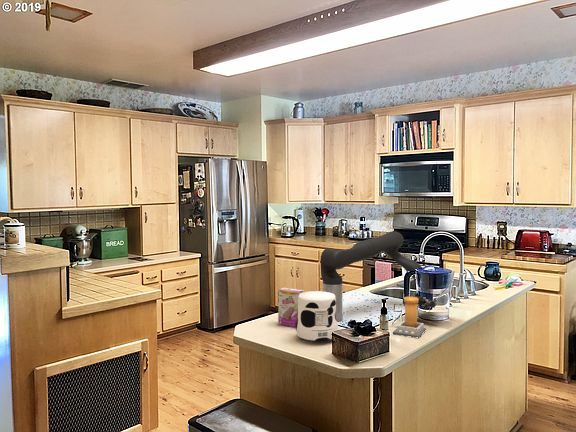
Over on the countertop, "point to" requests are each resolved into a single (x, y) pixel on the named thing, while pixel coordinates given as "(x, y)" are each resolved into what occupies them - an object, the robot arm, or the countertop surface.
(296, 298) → the candy bar box
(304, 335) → the milk container
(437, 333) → the countertop surface
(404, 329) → the breaker panel
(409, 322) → the orange flared cylinder
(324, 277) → the robot arm
